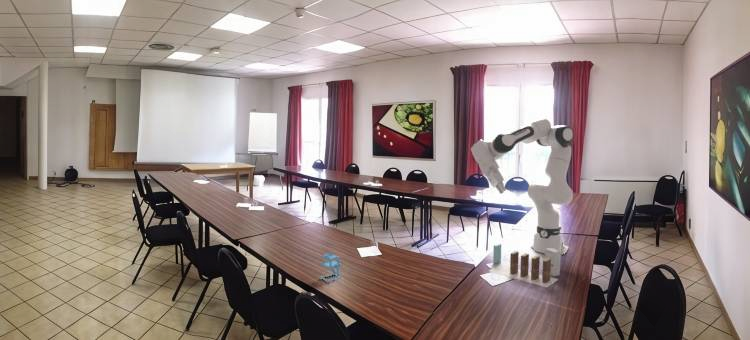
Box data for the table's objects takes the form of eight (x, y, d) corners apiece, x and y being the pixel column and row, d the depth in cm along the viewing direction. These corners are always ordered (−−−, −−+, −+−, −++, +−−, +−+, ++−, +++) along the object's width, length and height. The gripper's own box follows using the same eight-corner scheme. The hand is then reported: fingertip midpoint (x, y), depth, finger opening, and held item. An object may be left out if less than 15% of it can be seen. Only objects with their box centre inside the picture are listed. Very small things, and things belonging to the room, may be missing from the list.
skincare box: (543, 272, 178) (544, 248, 177) (550, 271, 180) (551, 247, 179) (552, 277, 173) (553, 252, 172) (560, 276, 174) (561, 251, 173)
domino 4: (530, 279, 169) (531, 258, 168) (535, 276, 172) (536, 255, 171) (534, 280, 168) (535, 258, 167) (539, 277, 171) (539, 256, 170)
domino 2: (510, 273, 176) (510, 253, 175) (514, 271, 180) (515, 250, 179) (513, 274, 175) (513, 254, 174) (518, 271, 178) (518, 251, 177)
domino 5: (542, 282, 165) (542, 260, 164) (546, 279, 169) (547, 258, 168) (545, 283, 164) (546, 261, 163) (550, 280, 168) (550, 258, 167)
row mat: (501, 265, 189) (501, 264, 189) (558, 280, 169) (558, 279, 169) (488, 272, 180) (488, 270, 180) (547, 288, 160) (547, 287, 160)
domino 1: (493, 264, 191) (493, 245, 190) (498, 262, 194) (498, 243, 194) (496, 265, 190) (496, 246, 189) (500, 262, 193) (501, 244, 192)
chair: (343, 278, 174) (343, 253, 173) (330, 283, 168) (329, 257, 167) (332, 274, 179) (332, 249, 178) (319, 278, 173) (319, 253, 172)
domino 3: (520, 276, 172) (520, 255, 172) (525, 273, 176) (525, 253, 175) (523, 277, 171) (524, 256, 170) (528, 274, 175) (528, 254, 174)
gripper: (497, 162, 184) (511, 186, 181) (493, 169, 204) (506, 191, 200) (486, 167, 185) (500, 192, 181) (483, 174, 205) (495, 196, 201)
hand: (503, 192), depth 191 cm, fingers open, 8 cm apart
